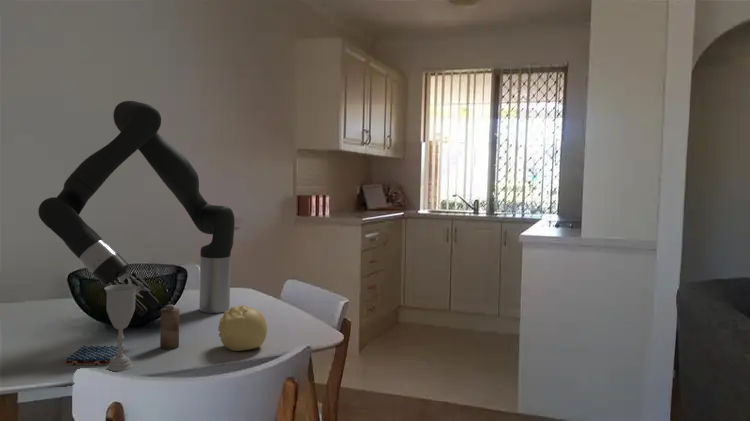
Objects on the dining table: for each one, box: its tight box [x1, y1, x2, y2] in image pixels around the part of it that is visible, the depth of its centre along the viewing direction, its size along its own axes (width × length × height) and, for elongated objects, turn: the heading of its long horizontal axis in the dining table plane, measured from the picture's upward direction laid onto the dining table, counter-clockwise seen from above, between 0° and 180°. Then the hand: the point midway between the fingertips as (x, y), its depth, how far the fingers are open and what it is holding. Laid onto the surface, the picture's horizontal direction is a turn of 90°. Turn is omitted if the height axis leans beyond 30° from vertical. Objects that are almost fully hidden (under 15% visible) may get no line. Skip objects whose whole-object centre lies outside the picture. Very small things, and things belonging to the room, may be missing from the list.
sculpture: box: [217, 304, 268, 352], centre depth 150 cm, size 12×12×11 cm
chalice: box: [104, 284, 138, 372], centre depth 132 cm, size 7×7×18 cm
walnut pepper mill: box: [159, 304, 180, 351], centre depth 149 cm, size 4×4×10 cm
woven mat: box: [64, 345, 126, 366], centre depth 139 cm, size 10×11×2 cm
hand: (150, 309), depth 148 cm, fingers open, 8 cm apart
